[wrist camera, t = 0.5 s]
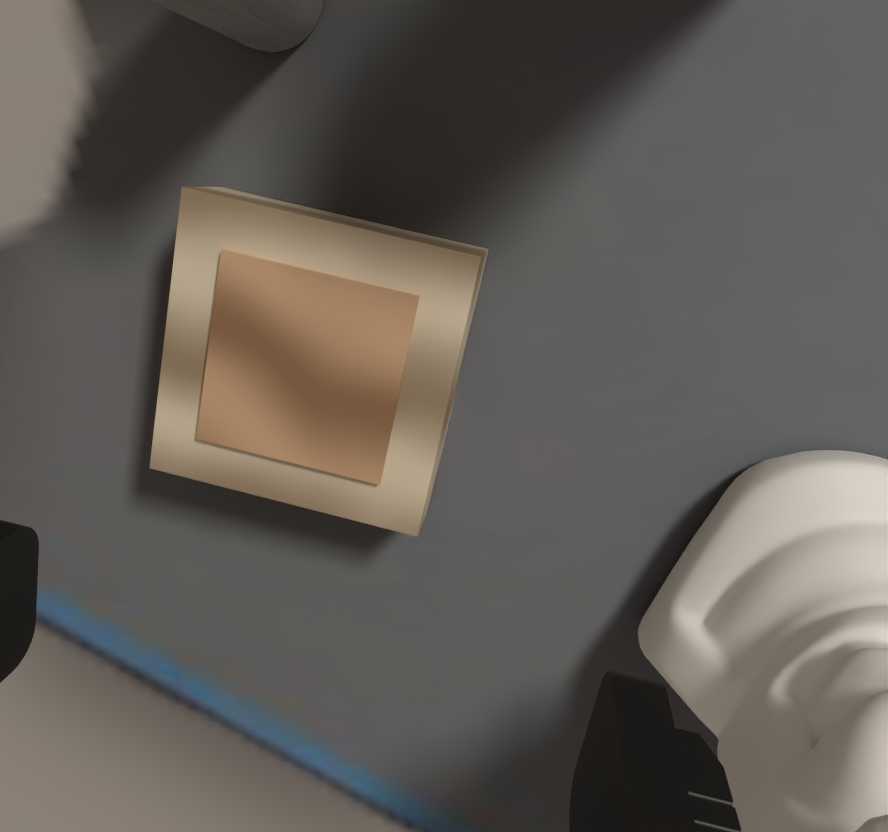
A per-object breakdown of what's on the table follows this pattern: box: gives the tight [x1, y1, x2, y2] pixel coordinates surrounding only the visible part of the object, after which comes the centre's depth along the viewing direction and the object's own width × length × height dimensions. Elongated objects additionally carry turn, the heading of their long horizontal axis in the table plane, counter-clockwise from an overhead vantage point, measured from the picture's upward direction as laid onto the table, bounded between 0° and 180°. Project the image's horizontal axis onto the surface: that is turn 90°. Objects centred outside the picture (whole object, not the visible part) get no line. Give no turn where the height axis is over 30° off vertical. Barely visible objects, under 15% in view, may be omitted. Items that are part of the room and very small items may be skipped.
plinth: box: [149, 187, 489, 537], centre depth 35 cm, size 12×12×4 cm
